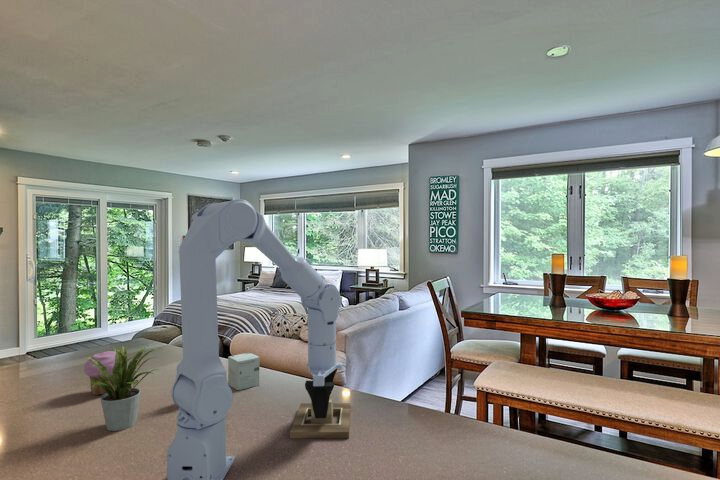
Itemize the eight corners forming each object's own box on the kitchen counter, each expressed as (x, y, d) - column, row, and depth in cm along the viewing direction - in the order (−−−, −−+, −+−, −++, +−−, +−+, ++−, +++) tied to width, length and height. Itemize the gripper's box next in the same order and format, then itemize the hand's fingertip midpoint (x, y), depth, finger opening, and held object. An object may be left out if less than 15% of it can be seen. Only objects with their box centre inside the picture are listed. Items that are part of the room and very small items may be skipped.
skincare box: (237, 391, 98) (237, 361, 98) (227, 384, 103) (227, 356, 103) (260, 385, 102) (259, 356, 102) (249, 379, 107) (249, 351, 107)
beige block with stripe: (331, 427, 79) (331, 401, 79) (311, 427, 79) (311, 401, 79) (333, 418, 83) (332, 393, 83) (313, 418, 83) (313, 393, 83)
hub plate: (348, 438, 74) (348, 431, 74) (290, 438, 75) (290, 431, 75) (350, 408, 87) (350, 402, 87) (300, 408, 88) (300, 403, 88)
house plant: (180, 419, 83) (179, 341, 83) (111, 449, 71) (110, 358, 71) (140, 405, 90) (140, 333, 90) (71, 431, 78) (70, 348, 78)
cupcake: (79, 400, 93) (78, 358, 93) (91, 387, 102) (90, 348, 102) (122, 395, 96) (121, 354, 96) (130, 383, 104) (130, 345, 104)
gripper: (339, 352, 74) (340, 425, 74) (343, 333, 88) (344, 394, 88) (301, 352, 74) (302, 425, 74) (311, 333, 88) (312, 395, 88)
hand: (322, 409), depth 81 cm, fingers open, 7 cm apart
